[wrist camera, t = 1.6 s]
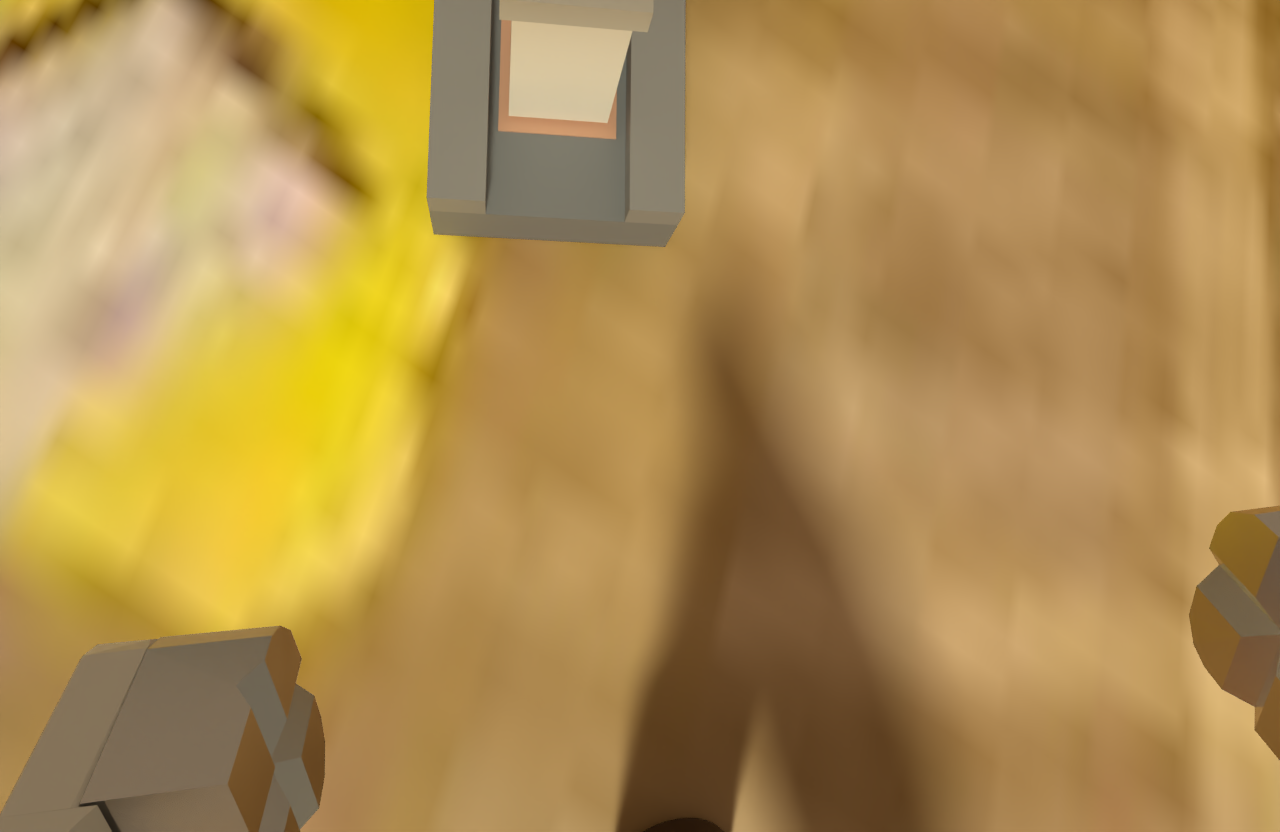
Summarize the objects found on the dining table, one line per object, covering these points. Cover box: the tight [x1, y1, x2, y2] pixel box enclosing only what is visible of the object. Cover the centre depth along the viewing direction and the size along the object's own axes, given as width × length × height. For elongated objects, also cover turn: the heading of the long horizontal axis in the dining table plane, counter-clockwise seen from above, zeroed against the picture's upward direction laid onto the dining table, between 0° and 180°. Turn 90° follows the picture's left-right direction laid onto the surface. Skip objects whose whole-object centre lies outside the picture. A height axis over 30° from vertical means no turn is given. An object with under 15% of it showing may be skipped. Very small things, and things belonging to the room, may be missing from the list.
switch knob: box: [499, 0, 654, 123], centre depth 35 cm, size 5×5×9 cm
